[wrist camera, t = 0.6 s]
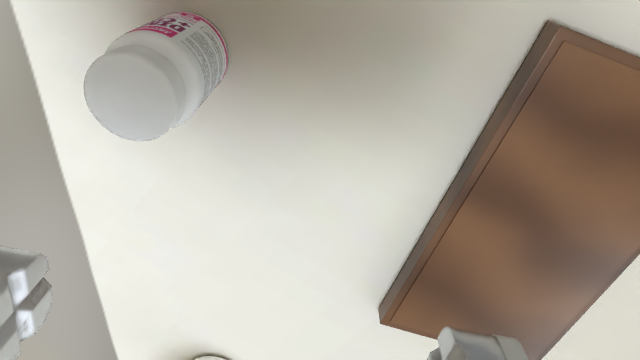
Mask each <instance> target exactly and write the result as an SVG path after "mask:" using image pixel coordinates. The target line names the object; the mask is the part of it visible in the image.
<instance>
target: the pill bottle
mask: <svg viewBox="0 0 640 360" xmlns="http://www.w3.org/2000/svg"><path fill="white" fill-rule="evenodd" d="M227 66H228V52H227V47H226V44H225V41H224V39H223V37H222V35H221V34H220V32H219V31H218V30H217V28H216V27H215V26H214V25H213V24H212V23H211V22H209V21H208V20H206V19H205V18H203V17H201V16H199V15H197V14H194V13H190V12H175V13H171V14H168V15H165V16H163V17H161V18H159V19H156V20H154V21H152V22H150V23H147V24H145V25H143V26H141V27H139V28H136V29H134V30H132V31H130V32H127V33H125V34H124V35H122V36H120V37H119V38H118V39H116V40H115V41H114V42H113V43H112V44H111V45H110V46H109V48H108V49H107V51H106V52H105V54H104V55H103V56H101V57H99V58H98V59H96V60H95V61H94V62H93V63H92V64H91V66H90V67H89V69H88V71H87V73H86V76H85V80H84V95H85V99H86V102H87V105H88V107H89V109H90V111H91V112H92V114H93V115H94V117H95V118H96V119H97V120H98V121H99V123H100V124H101V125H102V126H104V127H105V128H106V129H107V130H109V131H110V132H112V133H114V134H115V135H118V136H120V137H122V138H125V139H128V140H133V141H149V140H153V139H156V138H158V137H160V136H162V135H163V134H165V133H166V132H167V131H168V130H169V129H170V128H173V127H176V126H178V125H181V124H182V123H184V122H185V121H187V120H188V119H189V118H190V117H191V116H192V115H193V114H194V113H195V112H196V110H197V109H198V108H199V107H200V105H201V104H202V103H203V101H204V100H205V99H206V98H207V96H208V95H209V94H210V93H211V92H212V91H213V89H214V88H215V87H216V86H217V85H218V84H219V83H220V82H221V80H222V79H223V77H224V75H225V73H226V70H227Z"/></svg>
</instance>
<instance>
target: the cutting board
mask: <svg viewBox="0 0 640 360" xmlns="http://www.w3.org/2000/svg"><path fill="white" fill-rule="evenodd" d="M639 254H640V57H637V56H635V55H632V54H630V53H627V52H625V51H622V50H620V49H617V48H615V47H613V46H610V45H608V44H605V43H603V42H600V41H598V40H595V39H593V38H590V37H588V36H585V35H583V34H580V33H578V32H575V31H573V30H571V29H568V28H566V27H563V26H561V25H558V24H556V23H553V22H551V21H547V23H546V25H545V26H544V28H543V30H542V31H541V33H540V35H539V37H538V38H537V40H536V42H535V43H534V45H533V47H532V48H531V50H530V52H529V54H528V55H527V57H526V59H525V60H524V62H523V64H522V65H521V67H520V69H519V71H518V72H517V74H516V76H515V77H514V79H513V81H512V83H511V84H510V86H509V88H508V89H507V91H506V93H505V94H504V96H503V98H502V100H501V101H500V103H499V105H498V106H497V108H496V110H495V111H494V113H493V115H492V117H491V118H490V120H489V122H488V123H487V125H486V127H485V128H484V130H483V132H482V134H481V135H480V137H479V139H478V140H477V142H476V144H475V146H474V147H473V149H472V151H471V152H470V154H469V156H468V157H467V159H466V161H465V163H464V164H463V166H462V168H461V169H460V171H459V173H458V174H457V176H456V178H455V180H454V181H453V183H452V185H451V186H450V188H449V190H448V191H447V193H446V195H445V197H444V198H443V200H442V202H441V203H440V205H439V207H438V208H437V210H436V212H435V214H434V215H433V217H432V219H431V220H430V222H429V224H428V226H427V227H426V229H425V231H424V232H423V234H422V236H421V237H420V239H419V241H418V243H417V244H416V246H415V248H414V249H413V251H412V253H411V254H410V256H409V258H408V260H407V261H406V263H405V265H404V266H403V268H402V270H401V271H400V273H399V275H398V277H397V278H396V280H395V282H394V283H393V285H392V287H391V289H390V290H389V292H388V294H387V295H386V297H385V299H384V300H383V302H382V304H381V306H380V307H379V318H380V324H383V325H386V326H390V327H393V328H397V329H401V330H404V331H408V332H411V333H415V334H418V335H422V336H426V337H429V338H433V339H436V340H438V339H437V338H438V336H439V334H440V333H441V331H442V330H443V329H444V328H445V327H452V328H458V329H464V330H470V331H475V332H481V333H487V334H491V335H499V336H505V337H511V338H516V339H517V340H518V341H519V342H520V343H521V345H522V347H523V349H524V351H525V353H526V355H527V358H528V360H541V359H542V358H543V357H544V356H545V355H546V354H547V353H548V352H549V351H550V350H551V349H552V347H553V346H554V345H555V344H556V343H557V342H558V341H559V340H560V339H561V338H562V337H563V336H564V335H565V334H566V332H567V331H568V330H569V329H570V328H571V327H572V326H573V325H574V324H575V323H576V322H577V321H578V320H579V319H580V317H581V316H582V315H583V314H584V313H585V312H586V311H587V310H588V309H589V308H590V307H591V306H592V305H593V303H594V302H595V301H596V300H597V299H598V298H599V297H600V296H601V295H602V294H603V293H604V292H605V291H606V290H607V288H608V287H609V286H610V285H611V284H612V283H613V282H614V281H615V280H616V279H617V278H618V277H619V276H620V275H621V273H622V272H623V271H624V270H625V269H626V268H627V267H628V266H629V265H630V264H631V263H632V262H633V261H634V260H635V258H636V257H637V256H638V255H639Z"/></svg>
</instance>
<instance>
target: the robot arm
mask: <svg viewBox="0 0 640 360" xmlns="http://www.w3.org/2000/svg"><path fill="white" fill-rule="evenodd" d="M48 270H49V265H48V260H47V256H44V255H42V254H38V253H34V252H29V251H24V250H19V249H14V248H9V247H4V246H0V360H16V359H17V358H18V357H19V355H20V354H21V344H20V342H21V341H22V340H24V339H26V338H28V337H30V336H32V335H33V334H36V332H37V331H38V330H39V328H40V327H41V326H42V324H43V323H44V321H45V320H46V317H47V315H48V313H49V310H50V308H51V304H52V296H53V294H52V286H51V285H50V284H49V283H48V282H47V281H46V279H45V278H44V277H43V276H44V275H45V274H46V273H47V272H48ZM437 339H438V343H439V348H437V349H435V350H434V351H432V352H430V354H429V356H428V358H427V360H528V358H527V355H526V353H525V351H524V349H523V347H522V345H521V343H520V342H519V341H518V340H517V339H516V338H511V337H505V336H499V335H491V334H487V333H481V332H475V331H470V330H464V329H458V328H452V327H445V328H444V329H443V330H442V331H441V333H440V334H439V336H438V338H437Z"/></svg>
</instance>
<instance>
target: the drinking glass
mask: <svg viewBox="0 0 640 360" xmlns="http://www.w3.org/2000/svg"><path fill="white" fill-rule="evenodd" d="M194 360H226V359H223V358H220V357H215V356H204V357H199V358H196V359H194Z"/></svg>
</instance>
